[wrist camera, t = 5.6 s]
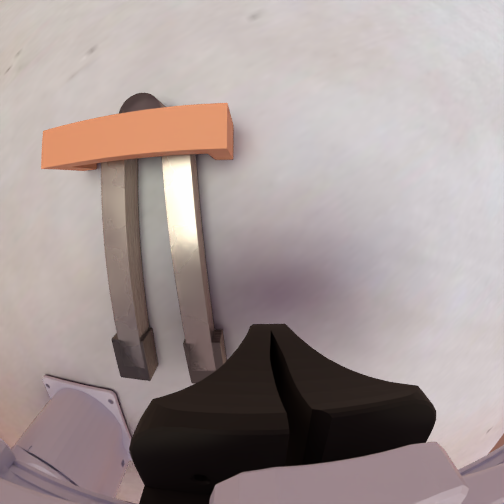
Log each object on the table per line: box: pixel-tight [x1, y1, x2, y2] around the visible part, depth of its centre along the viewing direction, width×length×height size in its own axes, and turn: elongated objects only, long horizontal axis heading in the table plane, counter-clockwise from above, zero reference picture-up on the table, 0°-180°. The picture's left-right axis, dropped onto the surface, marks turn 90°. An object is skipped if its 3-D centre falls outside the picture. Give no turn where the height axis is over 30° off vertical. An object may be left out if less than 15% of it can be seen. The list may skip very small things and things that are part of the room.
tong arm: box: [162, 154, 227, 383], centre depth 16 cm, size 14×2×2 cm, turn 4°
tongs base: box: [101, 93, 165, 381], centre depth 16 cm, size 17×4×3 cm, turn 0°
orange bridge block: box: [41, 103, 233, 171], centre depth 13 cm, size 2×10×4 cm, turn 90°
